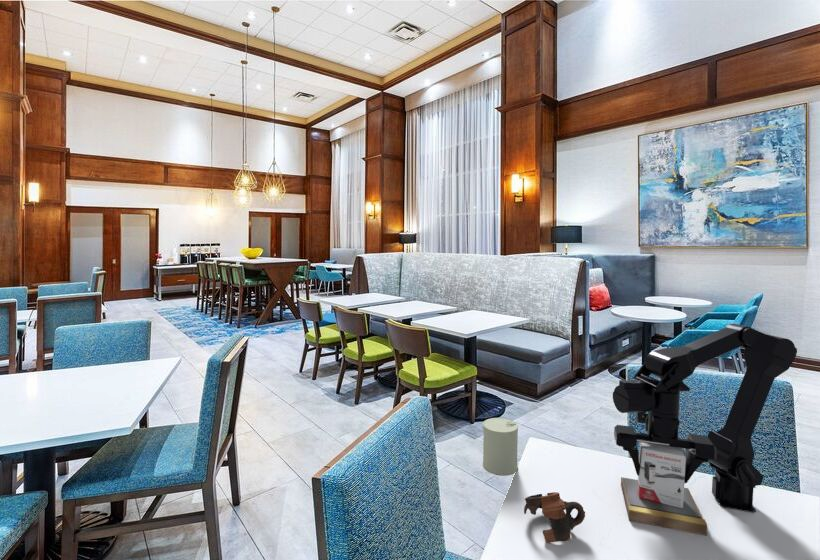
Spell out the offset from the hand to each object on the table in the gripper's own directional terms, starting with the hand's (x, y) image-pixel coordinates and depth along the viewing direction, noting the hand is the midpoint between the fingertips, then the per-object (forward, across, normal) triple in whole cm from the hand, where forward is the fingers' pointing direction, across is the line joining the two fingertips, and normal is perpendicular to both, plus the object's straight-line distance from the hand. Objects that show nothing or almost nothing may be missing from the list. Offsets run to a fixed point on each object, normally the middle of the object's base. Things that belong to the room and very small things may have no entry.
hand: (660, 478), depth 92 cm
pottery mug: (+7, +22, +15) cm, 27 cm away
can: (+7, +36, -6) cm, 37 cm away
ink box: (+5, 0, 0) cm, 5 cm away
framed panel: (+7, 0, 0) cm, 7 cm away
